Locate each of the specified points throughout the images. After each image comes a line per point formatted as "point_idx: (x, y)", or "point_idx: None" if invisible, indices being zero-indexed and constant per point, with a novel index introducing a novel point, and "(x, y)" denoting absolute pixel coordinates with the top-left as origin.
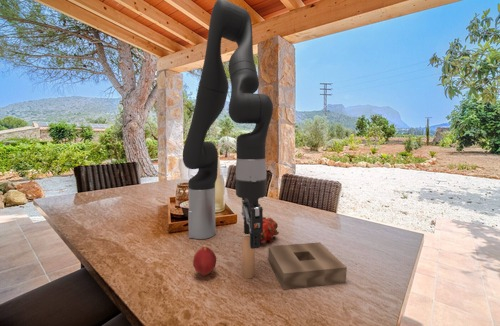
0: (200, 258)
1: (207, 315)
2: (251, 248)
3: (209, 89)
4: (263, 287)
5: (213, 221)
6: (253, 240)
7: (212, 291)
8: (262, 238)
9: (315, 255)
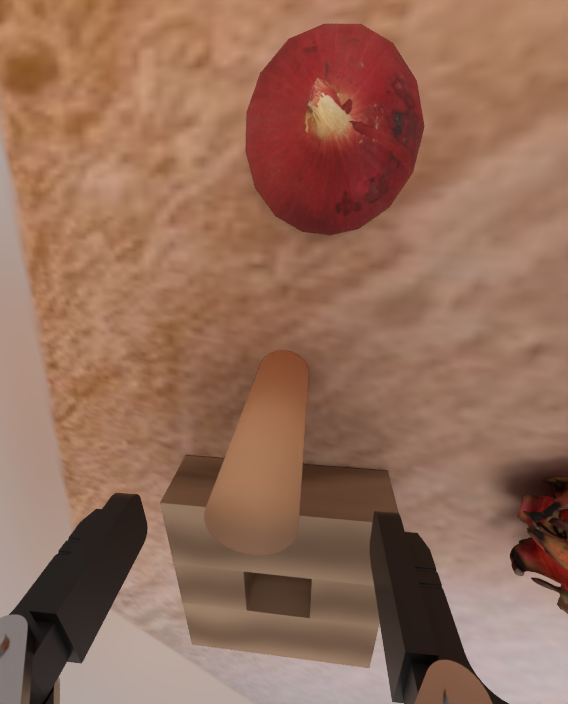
0: (263, 92)
1: (38, 176)
2: (117, 493)
3: None
4: (200, 404)
5: None
6: (54, 563)
7: (183, 202)
8: (544, 519)
9: (274, 620)
